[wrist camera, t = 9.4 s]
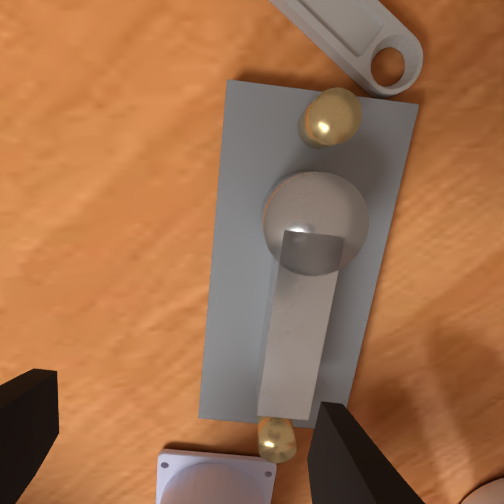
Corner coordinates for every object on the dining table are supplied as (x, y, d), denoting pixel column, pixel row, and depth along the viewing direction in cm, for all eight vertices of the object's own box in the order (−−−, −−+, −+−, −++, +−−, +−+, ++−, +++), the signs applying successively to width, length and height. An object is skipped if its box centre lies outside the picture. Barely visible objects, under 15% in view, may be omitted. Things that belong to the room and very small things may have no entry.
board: (336, 418, 20) (340, 431, 19) (200, 405, 20) (198, 418, 19) (408, 108, 15) (419, 104, 14) (228, 85, 15) (227, 79, 14)
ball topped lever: (314, 381, 18) (326, 422, 15) (241, 374, 18) (238, 413, 15) (355, 176, 15) (379, 178, 12) (266, 166, 15) (270, 165, 12)
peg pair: (287, 419, 19) (293, 465, 16) (255, 416, 19) (255, 461, 16) (343, 106, 14) (366, 90, 11) (301, 101, 14) (313, 84, 11)
